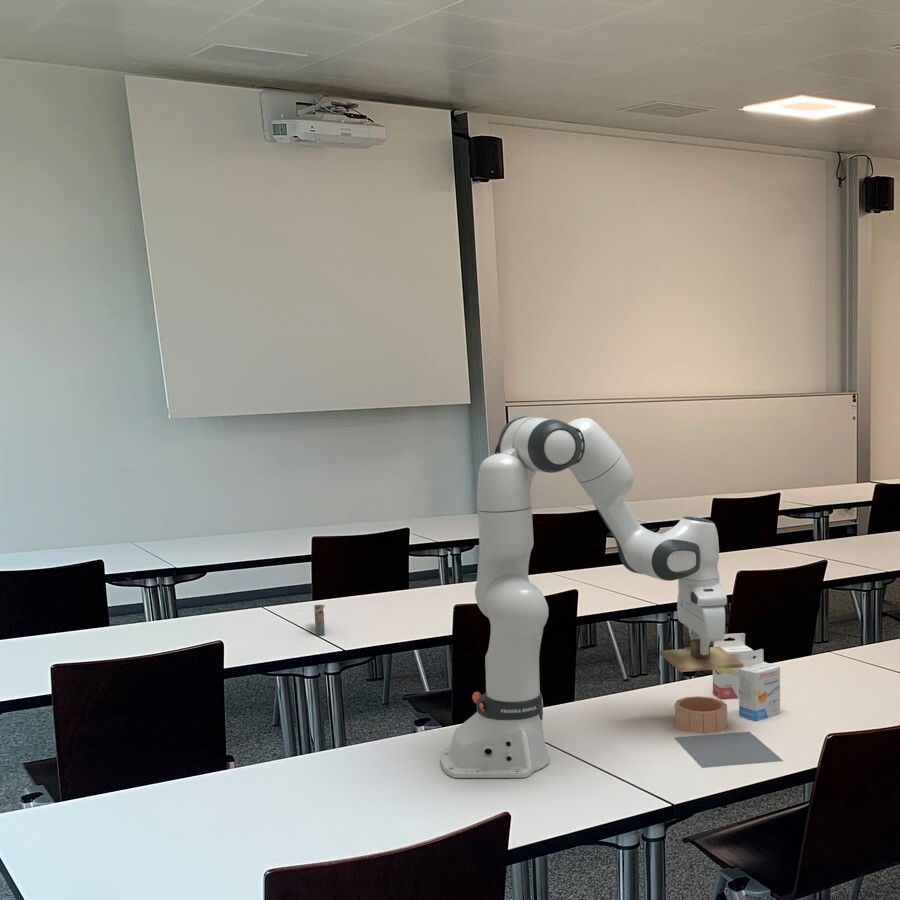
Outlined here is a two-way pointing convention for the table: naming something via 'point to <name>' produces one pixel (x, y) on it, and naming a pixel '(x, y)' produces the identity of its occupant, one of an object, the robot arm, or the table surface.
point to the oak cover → (700, 658)
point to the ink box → (758, 687)
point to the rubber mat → (727, 749)
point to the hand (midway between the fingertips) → (700, 651)
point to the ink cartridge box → (729, 678)
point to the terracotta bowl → (701, 714)
